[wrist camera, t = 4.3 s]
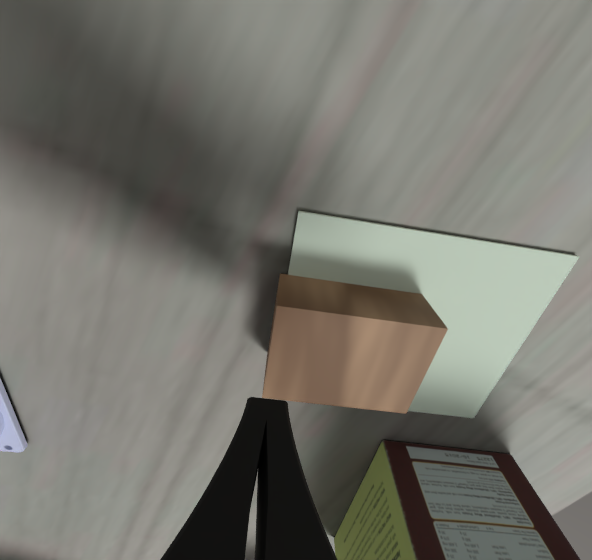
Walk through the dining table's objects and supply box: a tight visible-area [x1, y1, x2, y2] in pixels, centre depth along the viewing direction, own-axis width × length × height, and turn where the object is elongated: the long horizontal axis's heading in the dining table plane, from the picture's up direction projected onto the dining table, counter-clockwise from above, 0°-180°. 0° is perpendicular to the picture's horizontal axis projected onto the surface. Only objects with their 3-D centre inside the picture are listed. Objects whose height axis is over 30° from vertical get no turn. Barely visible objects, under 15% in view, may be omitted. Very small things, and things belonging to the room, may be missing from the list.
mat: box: [288, 211, 579, 418], centre depth 17 cm, size 14×12×1 cm
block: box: [262, 274, 448, 414], centre depth 15 cm, size 3×6×8 cm
